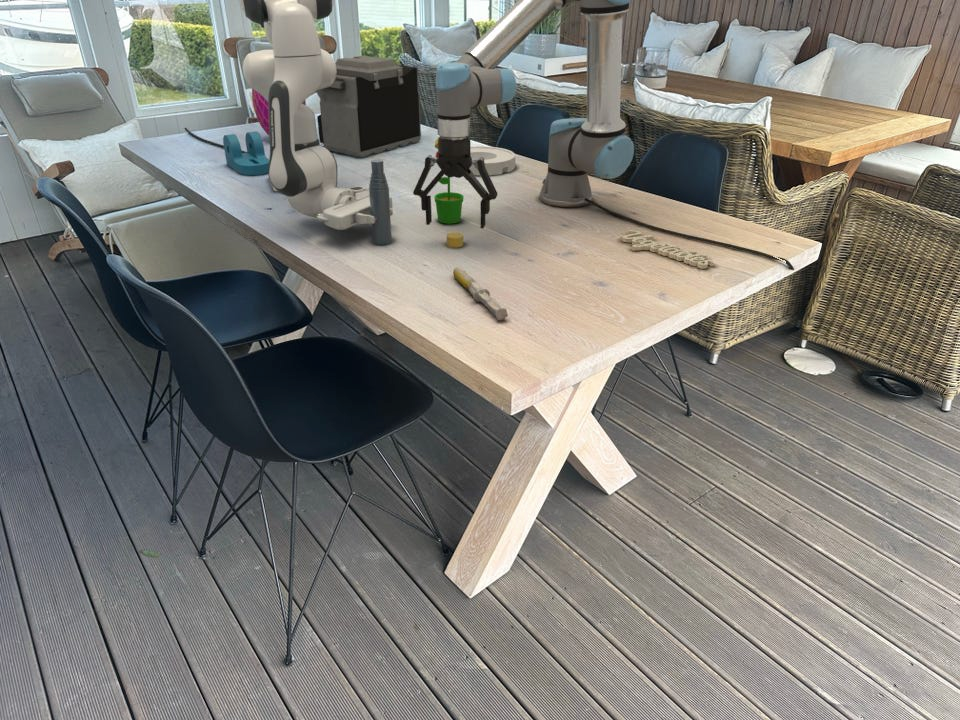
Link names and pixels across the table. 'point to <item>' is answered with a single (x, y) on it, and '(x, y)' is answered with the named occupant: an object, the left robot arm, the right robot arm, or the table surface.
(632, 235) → the decorative sign
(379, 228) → the bottle
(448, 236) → the cap
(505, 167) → the ashtray
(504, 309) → the syringe
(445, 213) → the potted flower
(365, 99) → the cooler box
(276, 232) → the table surface
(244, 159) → the camera mount
